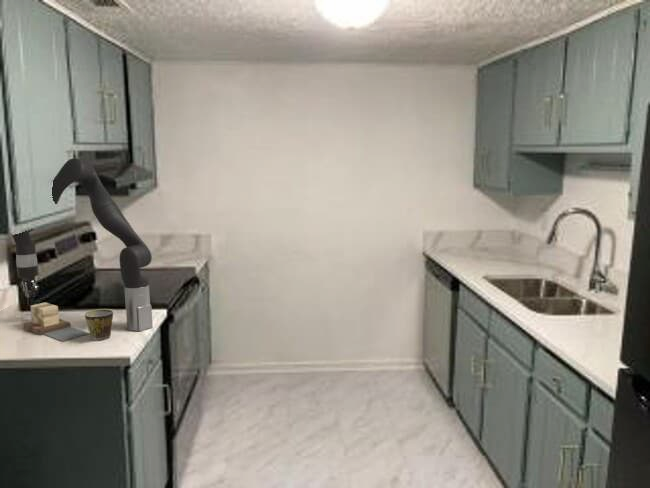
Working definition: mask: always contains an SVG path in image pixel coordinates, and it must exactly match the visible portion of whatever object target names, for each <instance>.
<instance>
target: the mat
mask: <svg viewBox="0 0 650 488" xmlns="http://www.w3.org/2000/svg"><path fill="white" fill-rule="evenodd" d="M87 335H90V332H88V331H84V330H82V329H79V328H76V327H72V326H71V327H67V328H64V329H60V330H56V331H52V332H49V333H45V334H44V335H43V336H46V337H49V338H51V339H54V340H56V341H59V342H67V341H70V340H74V339H78V338H81V337H83V336H84V337H85V336H87Z"/></svg>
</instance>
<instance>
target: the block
mask: <svg viewBox="0 0 650 488" xmlns="http://www.w3.org/2000/svg"><path fill="white" fill-rule="evenodd" d="M34 304H35V305H31V306H29V308H30V314H31V322H32V323H35V324H38V325H40V326H43V327H46V326H50V325H54V324H58V323H59V319H60V315H59V306H58V305H55V304H51V303H48V302H45V301H44V302H41V303H34Z"/></svg>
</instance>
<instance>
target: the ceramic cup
mask: <svg viewBox="0 0 650 488" xmlns="http://www.w3.org/2000/svg"><path fill="white" fill-rule="evenodd" d="M84 318H85V322H86V324H87V327H88V331H89V332H88V333H90V334H89V335H90V339H91V340H92V341H95V342H101V341H105V340H108V339H110V337H111V335H112V334H111V333H112V323H113V319H114V310H113V309H111V308H98V309H91V310H88V311H86V312H85V313H84Z"/></svg>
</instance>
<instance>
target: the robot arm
mask: <svg viewBox="0 0 650 488" xmlns="http://www.w3.org/2000/svg"><path fill="white" fill-rule="evenodd" d="M95 169H96V168H94V166H93V165H92V164H91V163H90V162H89V161H87V160H84V159H80V158H70V159H68V160H67V161H65V163H63V166H62V167H60V170H59V171H58V173H57V174H56V175H55V177H54V178H53V179H54V180H53V179H52V181H53V187H52V196H53V197H52V198H53V201H54V202H55V204H57V205H58V203H59V201H60V199H61V196H62V194H63V193H64V191H65V190H66V189H67V188H68V187H70V186H71V185H72V184H73V183H78V184H79V185H80V186H81V187H82V189H83V191H85V193H86V194H87V196H88V198H89V202H90V206H91V210H92V213H93V215H94V217H95V218H96V219H97V221H98V222H99V225H101V227H103V229H105V230H106V231H107V232H109V233H110V234H111V235H113V236H114V237H116V238H118V239H119V240H120V241H121V242H122V244H124V246H125V247H123V248H122V249H121V251H120V254H119V268H120V269H119V270H120V274H121V275H120V276H121V281H122V282H123V286H124V302H125V313H126V314H125V315H126V327H127V328H126V329H127V330H128V331H133V332H142V331H144V330H145V331H146V330H149V329H151V328H154V327H153V312H152V310H153V308H152V307H153V306H152V304H151V301H150V300H151V298H150V281H149V278H148V277H147V276H144V275H142V274H141V269H142V268H145V267H147V266H149V265H150V264H151V263H152V258H153V257H152V253H151V250H150V248H149V247H148V245H147V244H146V243H145V242H144V241H143V240H142V238H141V237H140V236H139V235H138V234H137V232H136V231H135V230H134V228H133V227H132V226H131V224H130V223H129V221H128V219H126V217H125V216H124V213H123V212H122V210H121V209H120V207H119V206H118V205H117V202H115V200H114V199H113V198H112V196H111V195H110V193H109V192H108V190H107V189H106V188H105V186H104V185H103V183H102V182H101V179H100V177H99V176H98V174H97V172H96V170H95ZM32 231H35V229H31V230H28V231H25V232H22V233H19V234H15V235H12V234H11V236H12V239H13V242H14V244H15V254H16V255H15V256H16V260H15V262H16V271H17V277H18V278H20V279H21V281H20V282H18V285H19V287H20V290H21V292H22V294H23V296H25V297H26V303H27V304H26V305H27V306H28V307H30V306H31V305H35V304H36V303H35V297H36V296H38V293H39V290H40V285H38V284H37V281H36V277H37V276H39V265H38V258H37V252H36V249H37V248H36V244H35V240H34V239H31V235H30V233H31V232H32Z"/></svg>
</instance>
